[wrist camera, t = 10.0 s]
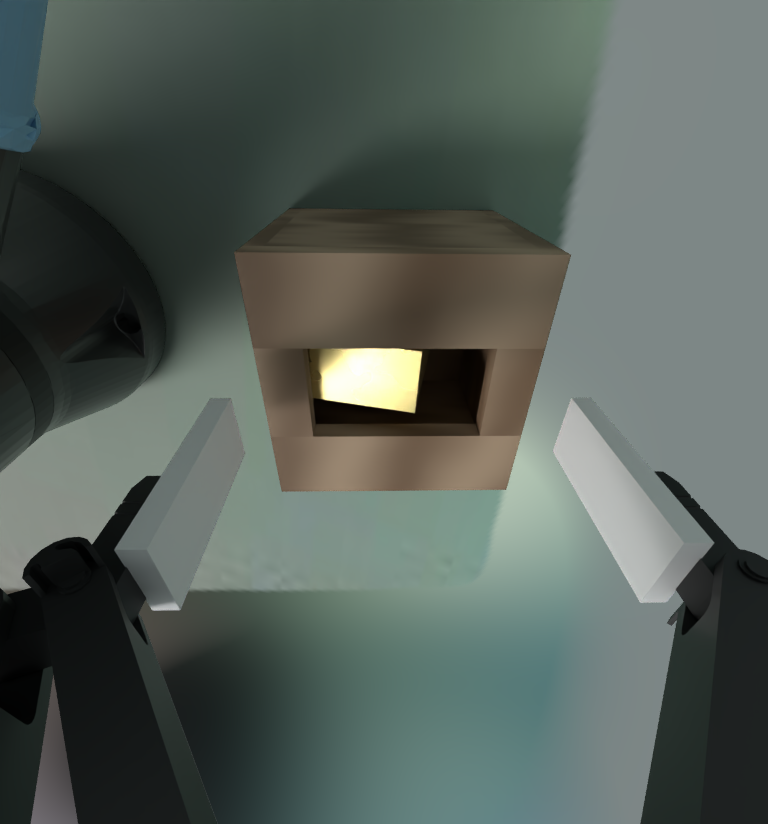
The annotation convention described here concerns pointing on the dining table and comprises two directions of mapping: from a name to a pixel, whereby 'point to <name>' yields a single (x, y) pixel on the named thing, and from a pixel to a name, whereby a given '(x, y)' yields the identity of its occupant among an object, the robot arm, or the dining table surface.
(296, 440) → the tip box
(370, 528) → the dining table surface
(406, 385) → the rectangular block
